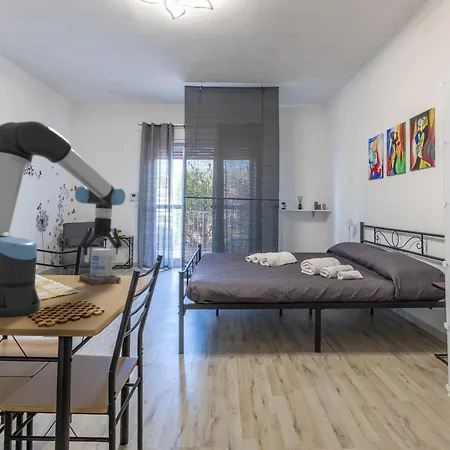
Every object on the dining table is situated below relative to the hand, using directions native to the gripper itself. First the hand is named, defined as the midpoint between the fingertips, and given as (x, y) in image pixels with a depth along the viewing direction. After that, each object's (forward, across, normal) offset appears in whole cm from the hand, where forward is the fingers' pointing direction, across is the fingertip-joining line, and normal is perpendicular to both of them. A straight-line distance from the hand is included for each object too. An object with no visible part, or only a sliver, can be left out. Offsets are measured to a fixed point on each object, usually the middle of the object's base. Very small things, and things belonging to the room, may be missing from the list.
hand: (100, 261), depth 168 cm
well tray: (+9, 0, 0) cm, 10 cm away
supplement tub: (+9, +1, 0) cm, 9 cm away
